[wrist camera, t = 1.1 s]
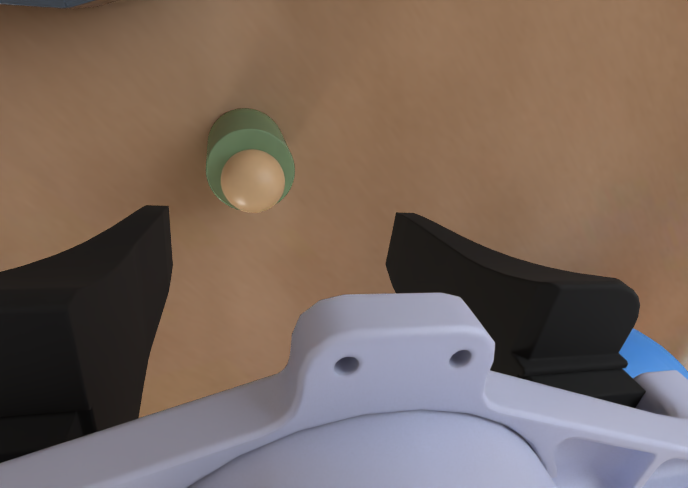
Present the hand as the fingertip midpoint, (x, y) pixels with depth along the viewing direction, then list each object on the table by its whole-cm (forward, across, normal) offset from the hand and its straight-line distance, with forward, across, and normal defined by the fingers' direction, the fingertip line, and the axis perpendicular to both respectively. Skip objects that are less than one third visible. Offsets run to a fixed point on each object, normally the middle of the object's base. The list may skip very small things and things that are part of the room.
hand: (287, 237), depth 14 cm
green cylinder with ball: (+10, +1, 0) cm, 10 cm away
